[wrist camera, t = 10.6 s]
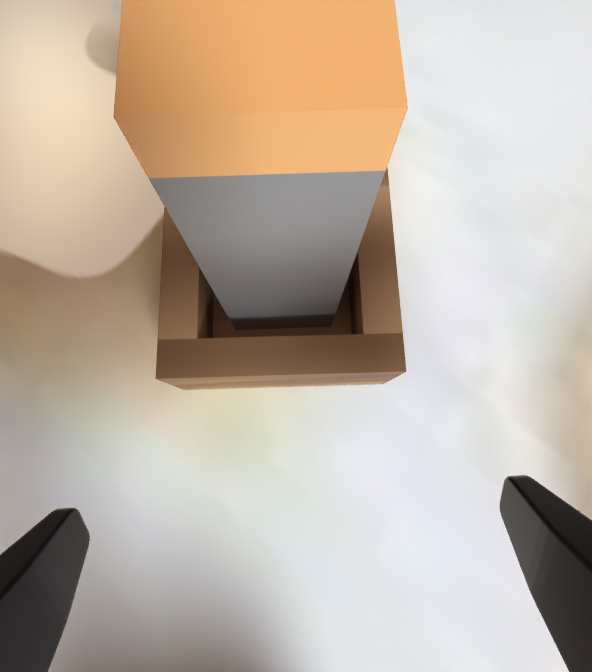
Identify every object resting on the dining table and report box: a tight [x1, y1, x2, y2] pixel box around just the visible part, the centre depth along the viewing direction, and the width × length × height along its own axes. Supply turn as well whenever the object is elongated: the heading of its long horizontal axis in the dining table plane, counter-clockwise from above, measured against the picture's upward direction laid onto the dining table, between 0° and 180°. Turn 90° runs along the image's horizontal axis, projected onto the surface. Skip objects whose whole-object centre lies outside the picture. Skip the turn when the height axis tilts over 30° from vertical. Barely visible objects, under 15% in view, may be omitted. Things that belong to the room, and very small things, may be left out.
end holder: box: [156, 168, 406, 390], centre depth 18 cm, size 9×9×4 cm
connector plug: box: [114, 0, 408, 330], centre depth 13 cm, size 4×4×13 cm
